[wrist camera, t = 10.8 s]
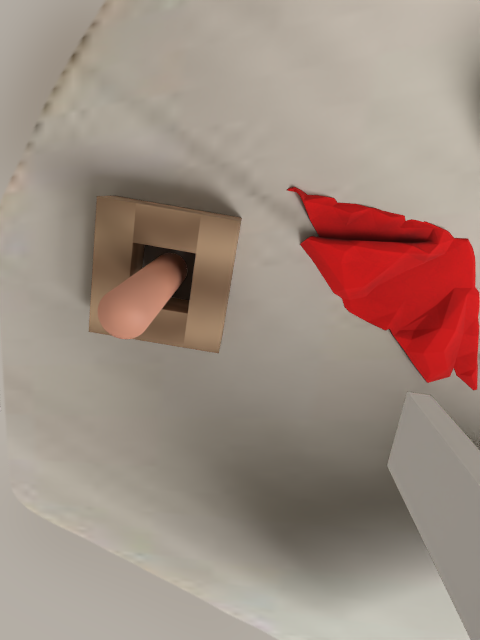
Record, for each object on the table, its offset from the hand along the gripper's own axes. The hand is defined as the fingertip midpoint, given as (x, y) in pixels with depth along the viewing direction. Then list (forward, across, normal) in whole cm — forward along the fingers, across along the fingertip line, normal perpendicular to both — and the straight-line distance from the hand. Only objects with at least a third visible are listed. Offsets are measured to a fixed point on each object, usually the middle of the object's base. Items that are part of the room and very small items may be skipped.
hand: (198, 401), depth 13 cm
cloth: (+26, -15, 0) cm, 30 cm away
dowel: (+25, +6, +1) cm, 25 cm away
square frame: (+25, +6, +1) cm, 25 cm away
